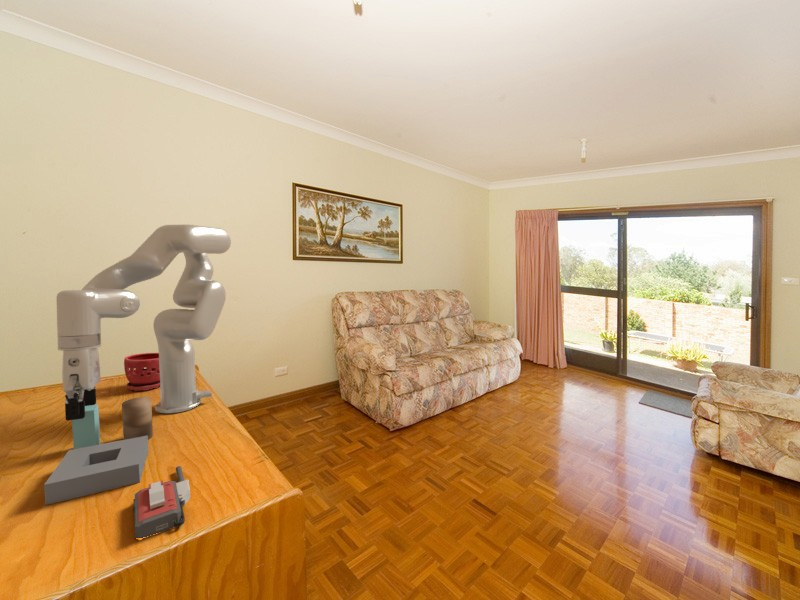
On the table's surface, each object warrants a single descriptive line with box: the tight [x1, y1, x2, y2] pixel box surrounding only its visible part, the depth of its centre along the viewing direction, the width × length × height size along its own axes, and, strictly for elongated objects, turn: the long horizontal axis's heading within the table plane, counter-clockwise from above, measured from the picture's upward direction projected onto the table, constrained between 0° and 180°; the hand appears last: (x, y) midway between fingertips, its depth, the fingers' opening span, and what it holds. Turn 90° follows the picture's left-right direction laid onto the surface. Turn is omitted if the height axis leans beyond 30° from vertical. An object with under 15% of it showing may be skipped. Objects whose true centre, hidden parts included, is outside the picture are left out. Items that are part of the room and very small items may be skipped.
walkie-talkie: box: [132, 465, 191, 539], centre depth 64 cm, size 9×4×20 cm
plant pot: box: [123, 352, 160, 392], centre depth 126 cm, size 13×13×12 cm
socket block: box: [43, 435, 149, 506], centre depth 72 cm, size 14×14×4 cm
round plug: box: [121, 396, 154, 441], centre depth 88 cm, size 6×6×10 cm
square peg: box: [71, 404, 101, 449], centre depth 83 cm, size 4×4×10 cm
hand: (81, 411), depth 82 cm, fingers open, 9 cm apart
